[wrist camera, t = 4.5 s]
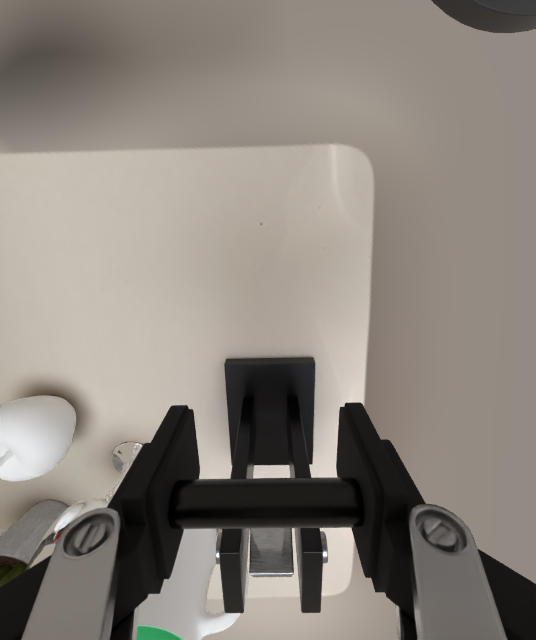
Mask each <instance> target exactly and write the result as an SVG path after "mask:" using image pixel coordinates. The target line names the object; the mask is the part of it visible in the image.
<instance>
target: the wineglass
mask: <svg viewBox="0 0 536 640" xmlns="http://www.w3.org/2000/svg"><path fill="white" fill-rule="evenodd" d="M142 446H143V445H142V444H139V443H135V442H126V443H123V444H120V445H119V446H117V447H116V448H115V449H114V451H113V453H112V462H113V465H114V466H115V468H116V469H117V470H118V471H119V472H120V473H122V474H123V475H122V476H121V478H120V480H119V481H118V483H117V484H116V485H115V487H114V488H113V489H112V490H111V491H110V492H109V493H108V494H107V495H106V497H105V499H98V498H91V499H85V500H82V501H79V502H77V503H75V504H73V505H72V506H70V507H69V508H67V509H66V510H65V511H64V512H63V513H62V514H61V515H60V516H59V517H58V518H57V519H56V520H55V521H54V522H53V523H52V524H51V526H50V527H49V528H48V530H47V531H46V533H45V534H44V536H43V537H42V539H41V541H40V542H39V544H38V546H37V547H36V549H35V551H34V553H33V555H32V557H31V559H30V561H29V563H28V565H27V567H26V569H25V571H26V570H28V569H29V568H31V567H33V566H34V565H36V564H37V563H39V562H41V561H42V560H44V559H45V558H47V557H49V556H50V555H52V553H53V551H54V548H55V545H56V542H57V540H58V538H59V537H60V535H61V533H62V532H63V531H64V529H65V528H66V527H67V526H68V525H69V524H70V523H71V522H72V521H73V520H75V519H76V518H77V517H79V516H81V515H82V514H84V513H86V512H88V511H91V510H93V509H97V508H104V507H105V508H107V506H108V504H109V502H110V501H111V499H112V497H113V496H114V494H115V492H116V490H117V489H118V487H119V485H120V484H121V482H122V480H123V478H124V477H125V475H126V473H127V472H128V470H129V468H130V466H131V465H132V463H133V461H134V460H135V458H136V456H137V454H138V453H139V451H140V449H141V448H142ZM25 571H24V572H25Z"/></svg>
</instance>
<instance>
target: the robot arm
mask: <svg viewBox="0 0 536 640" xmlns="http://www.w3.org/2000/svg"><path fill="white" fill-rule="evenodd" d="M336 468H337V476H338V478H339V477H353V478H355V479H356V480H357V482H358V484H359V487H360V490H361V494H362V499H363V506H364V522H363V525H362V526H361V527H351V528H352V532H353V535H354V539H355V543H356V546H357V550H358V554H359V557H360V561H361V565H362V569H363V572H364V575H365V577H366V578H371V579H372V582H373V585H374V589H375V592H385V593H386V597H388V598H389V599H390V600H391V601H392V602H393V603H395V604H396V618H397V634H398V640H536V584H535V583H533V582H531V581H530V580H528V579H527V578H525V577H523V576H522V575H520V574H518V573H517V572H515V571H513V570H512V569H510V568H509V567H507V566H505V565H504V564H502V563H500V562H499V561H497V560H495V559H493V558H492V557H491V556H489V555H487V554H486V553H484V552H482V551H481V550H479V549H477V546H476V543H475V540H474V537H473V535H472V533H471V531H470V529H469V528H468V527H467V526H466V525H465V523H464V522H463V521H462V520H461V519H460V518H459V517H457V516H456V515H455V514H454V513H452V512H450V511H449V510H447V509H445V508H443V507H440V506H437V505H432V504H426V503H425V502H424V500H423V498H422V496H421V494H420V493H419V491H418V489H417V487H416V486H415V484H414V482H413V480H412V479H411V477H410V475H409V473H408V471H407V470H406V468H405V466H404V464H403V462H402V461H401V459H400V457H399V455H398V453H397V452H396V450H395V448H394V446H393V445H392V443H391V442H390V441H389V440H381V439H380V437H379V435H378V434H377V432H376V429H375V428H374V426H373V424H372V422H371V420H370V418H369V416H368V414H367V412H366V410H365V408H364V406H363V405H362V403H345V407H340V411H339V429H338V446H337V464H336ZM199 474H200V465H199V456H198V447H197V439H196V430H195V421H194V412H193V410H192V409H189V408H188V406H187V405H175V406H171V407H170V409H169V411H168V412H167V414H166V416H165V418H164V420H163V421H162V423H161V425H160V427H159V429H158V431H157V432H156V434H155V436H154V438H153V440H152V441H151V443H145V444H144V445H143V446H142V448H141V449H140V451H139V453H138V454H137V456H136V458H135V460H134V461H133V463H132V465H131V466H130V468H129V470H128V472H127V473H126V475H125V477H124V478H123V480H122V482H121V484H120V485H119V487H118V489H117V490H116V492H115V494H114V496H113V497H112V499H111V501H110V502H109V504H108V506H107V508H105V507H104V508H97V509H93V510H91V511H88V512H86V513H84V514H82V515H81V516H79V517H77V518H76V519H75V520H73V521H72V522H71V523H70V524H69V525H68V526H67V527H66V528H65V529H64V531H63V532H62V533H61V535H60V537H59V538H58V540H57V542H56V545H55V548H54V551H53V553H52V555H50V556H49V557H47V558H45V559H44V560H42V561H41V562H39V563H37V564H36V565H34V566H33V567H31V568H29V569H28V570H26V571H25V572H23V573H21V574H20V575H18V576H17V577H15V578H13V579H12V580H10V581H9V582H7V583H6V584H4V585H2V586H1V587H0V640H136V639H137V627H138V615H139V605H140V604H141V603H142V602H143V601H145V600H146V599H147V597H148V594H160V592H161V588H162V585H163V582H164V579H169V578H170V577H171V574H172V571H173V567H174V564H175V560H176V557H177V553H178V550H179V546H180V543H181V539H182V536H183V532H184V529H172V528H171V527H170V524H169V503H170V497H171V493H172V490H173V487H174V485H175V483H176V482H177V481H178V480H180V479H199Z"/></svg>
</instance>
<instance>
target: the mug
mask: <svg viewBox="0 0 536 640" xmlns="http://www.w3.org/2000/svg"><path fill="white" fill-rule="evenodd" d="M216 537H217V529H184V532H183V536H182V539H181V543H180V546H179V550H178V553H177V557H176V560H175V564H174V567H173V571H172V574H171V577H170V578H169V579H164V582H163V585H162V588H161V592H160V594H148V597H147V599H146V600H145V601H143V602H142V603H141V604H140V605H139V615H138V627H137V639H136V640H201V639H202V637H204V636H205V635H208V634H213V633H217V632H220V631H223V630H225V629H227V628H228V627H230V626H231V625H232V624H233V623H234V622H235V621H236V620H237V619H238V617H239V616H240V613H225V611H224V612H221V613H219V614H211V613H209V612H208V611H207V608H206V599H207V592H208V587H209V582H210V578H211V574H212V571H213V568H214V566H215V565H216ZM247 592H248V570H247V571H246V586H245V601H246V597H247ZM245 601H244V604H245Z"/></svg>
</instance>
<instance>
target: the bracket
mask: <svg viewBox="0 0 536 640" xmlns="http://www.w3.org/2000/svg"><path fill="white" fill-rule="evenodd" d="M225 379H226V393H227V407H228V421H229V434H230V448H231V462H232V465H233V466H232V472H231V478H230V479H253V469H254V465H289V466H290V478H311V474H310V468H309V464H312V463H313V427H314V390H315V361H314V358H265V359H226V362H225ZM295 539H296V552H297V564H298V576H299V588H300V600H301V611H302V613H320V611H321V591H322V569H323V563H327V562H328V549H327V540H326V535H325V532H323V531H320V528H295ZM248 542H249V528H244V529H222V532H220V533H218V536H217V542H216V564H220V570H221V580H222V590H223V600H224V610H225V613H243V612H244V601H245V586H246V571H247V557H248Z"/></svg>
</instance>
